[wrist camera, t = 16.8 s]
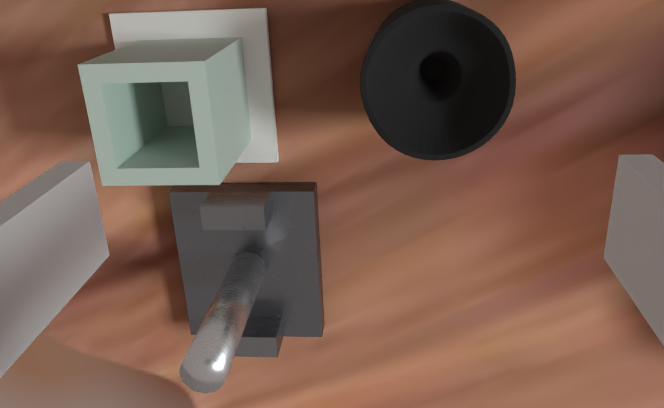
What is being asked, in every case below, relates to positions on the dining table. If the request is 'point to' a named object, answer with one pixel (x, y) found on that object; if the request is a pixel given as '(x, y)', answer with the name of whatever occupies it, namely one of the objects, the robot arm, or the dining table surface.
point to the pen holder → (437, 80)
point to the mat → (214, 25)
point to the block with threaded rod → (246, 272)
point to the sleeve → (150, 118)
